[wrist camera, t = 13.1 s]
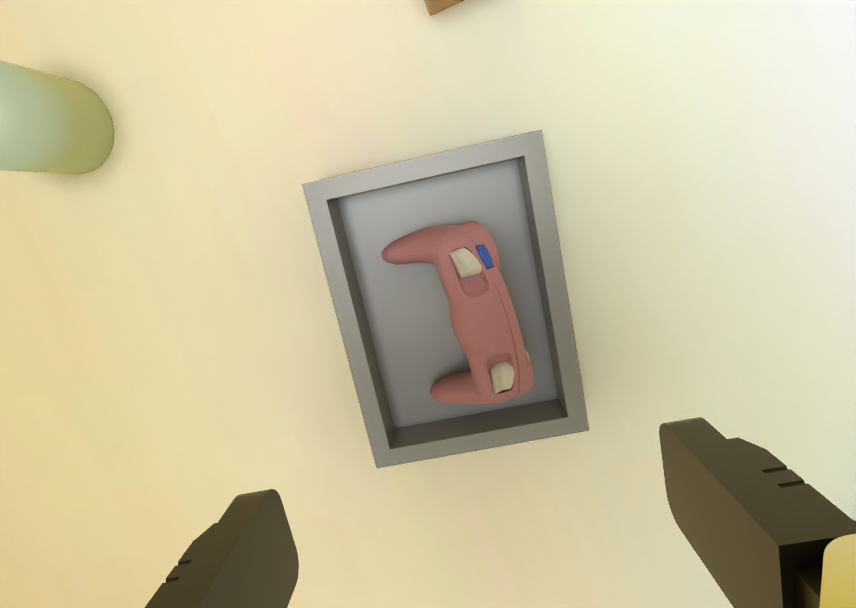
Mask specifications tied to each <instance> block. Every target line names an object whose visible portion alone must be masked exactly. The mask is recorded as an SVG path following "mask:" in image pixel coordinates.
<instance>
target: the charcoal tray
mask: <svg viewBox="0 0 856 608" xmlns="http://www.w3.org/2000/svg"><path fill="white" fill-rule="evenodd" d="M302 186H303V190H304V194H305V198H306V202H307V205H308V209H309V213H310V217H311V221H312V224H313V228H314V232H315V236H316V240H317V243H318V247H319V251H320V255H321V259H322V262H323V266H324V270H325V274H326V278H327V281H328V285H329V289H330V293H331V297H332V300H333V304H334V308H335V312H336V316H337V320H338V323H339V327H340V331H341V335H342V339H343V342H344V346H345V350H346V354H347V358H348V361H349V365H350V369H351V373H352V377H353V380H354V384H355V388H356V392H357V396H358V399H359V403H360V407H361V411H362V415H363V418H364V422H365V426H366V430H367V434H368V437H369V441H370V445H371V449H372V453H373V456H374V460H375V464H376V468H382V467H387V466H393V465H398V464H404V463H410V462H415V461H421V460H426V459H432V458H438V457H443V456H449V455H454V454H460V453H466V452H471V451H477V450H482V449H488V448H494V447H499V446H505V445H510V444H516V443H522V442H527V441H533V440H538V439H544V438H550V437H555V436H561V435H566V434H572V433H578V432H583V431H589V426H588V419H587V413H586V407H585V401H584V394H583V388H582V382H581V375H580V369H579V363H578V357H577V350H576V344H575V338H574V331H573V325H572V319H571V313H570V306H569V300H568V294H567V288H566V281H565V275H564V269H563V262H562V256H561V250H560V244H559V237H558V231H557V225H556V218H555V212H554V206H553V200H552V193H551V187H550V181H549V174H548V168H547V162H546V156H545V149H544V143H543V137H542V131H541V130H538V131H533V132H529V133H525V134H520V135H516V136H511V137H507V138H503V139H498V140H494V141H489V142H485V143H481V144H476V145H472V146H467V147H463V148H459V149H454V150H450V151H445V152H441V153H437V154H432V155H428V156H424V157H419V158H415V159H410V160H406V161H402V162H397V163H393V164H388V165H384V166H380V167H375V168H371V169H366V170H362V171H358V172H353V173H349V174H344V175H340V176H336V177H331V178H327V179H322V180H318V181H314V182H309V183H305V184H302ZM467 221H476V222H478V223H480V224H481V225H482V226H483V227H484V228H485V229H486V230H487V231H488V232H489V234H490V236H491V237H492V239H493V241H494V243H495V245H496V248H497V251H498V254H499V259H500V274H501V276H502V278H503V280H504V283H505V285H506V288H507V290H508V293H509V296H510V298H511V301H512V304H513V307H514V310H515V313H516V316H517V320H518V324H519V328H520V331H521V335H522V339H523V345H524V349H525V350H526V351H527V353H528V354H529V358H530V364H531V366H532V370H533V376H534V380H533V386H532V388H531V389H530V390H529V391H527V392H525V393H524V394H522V395H520V396H518V397H516V398H515V399H512V400H506V401H503V402H498V403H492V404H445V403H441V402H438V401H436V400H434V399H433V398H432V396H431V395H430V389H431V387H432V385H433V384H434V383H436V382H437V381H439V380H441V379H443V378H445V377H448V376H451V375H454V374H457V373H462V372H466V371H470V370H471V369H470V365H469V362H468V358H467V355H466V353H465V351H464V350H463V348H462V347H461V345H460V344H459V342H458V340H457V338H456V337H455V334H454V331H453V328H452V325H451V318H450V309H449V301H448V298H447V296H446V293H445V290H444V288H443V285H442V283H441V280H440V277H439V274H438V271H437V269H436V267H435V265H433V264H429V263H410V264H400V265H395V264H391V263H388V262H386V261H384V260H383V259H382V256H381V254H382V251H383V249H384V248H385V247H386V246H388V245H389V244H390V243H391V242H393V241H395V240H397V239H399V238H401V237H403V236H406V235H408V234H410V233H413V232H415V231H418V230H421V229H423V228H427V227H432V226H440V225H459V224H462V223H464V222H467Z"/></svg>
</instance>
